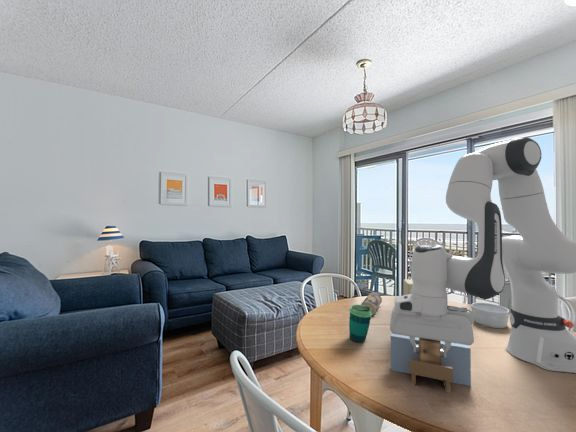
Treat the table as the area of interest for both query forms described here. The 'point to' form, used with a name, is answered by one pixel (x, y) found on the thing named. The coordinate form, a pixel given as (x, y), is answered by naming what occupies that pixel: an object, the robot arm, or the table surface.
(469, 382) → the wall board
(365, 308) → the cup
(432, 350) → the tan wooden cube
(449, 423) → the table surface
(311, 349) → the table surface
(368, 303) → the decorative bottle
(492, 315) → the ramekin
